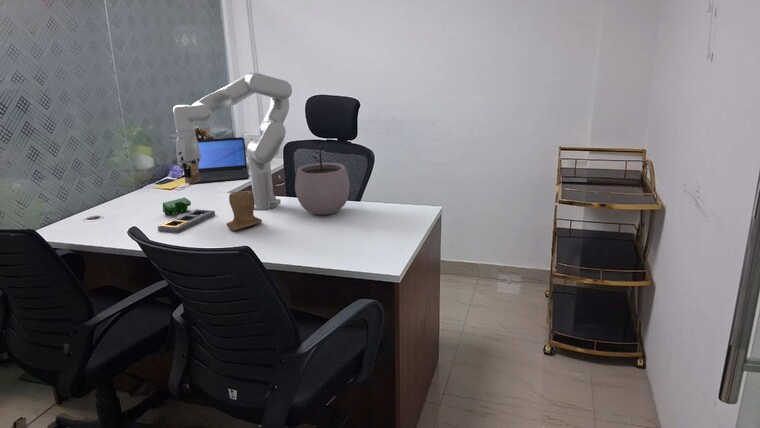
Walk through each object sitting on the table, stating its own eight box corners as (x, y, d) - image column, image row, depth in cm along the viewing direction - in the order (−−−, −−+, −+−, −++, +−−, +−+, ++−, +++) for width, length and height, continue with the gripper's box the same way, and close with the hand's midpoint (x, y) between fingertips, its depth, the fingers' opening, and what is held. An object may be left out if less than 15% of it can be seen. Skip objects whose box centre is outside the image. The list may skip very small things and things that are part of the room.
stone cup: (249, 219, 237) (246, 186, 233) (266, 224, 229) (262, 190, 225) (219, 228, 227) (215, 193, 222) (235, 233, 219) (231, 198, 214)
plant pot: (313, 203, 256) (308, 141, 247) (359, 207, 248) (356, 142, 239) (287, 219, 235) (281, 151, 226) (337, 223, 227) (332, 153, 218)
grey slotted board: (215, 214, 245) (214, 210, 244) (177, 232, 223) (176, 227, 222) (197, 213, 248) (196, 208, 248) (158, 230, 226) (157, 225, 225)
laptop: (188, 185, 302) (183, 151, 296) (193, 171, 337) (188, 140, 331) (248, 180, 310) (245, 146, 304) (247, 166, 344) (244, 136, 338)
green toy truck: (174, 224, 248) (166, 210, 242) (167, 219, 252) (159, 205, 245) (195, 209, 254) (188, 195, 248) (188, 204, 257) (181, 190, 251)
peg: (200, 181, 238) (197, 163, 236) (193, 183, 234) (191, 165, 232) (192, 180, 239) (189, 162, 237) (185, 183, 236) (182, 165, 233)
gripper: (192, 131, 239) (197, 171, 245) (165, 137, 224) (171, 180, 230) (206, 131, 237) (211, 172, 242) (179, 137, 222) (185, 181, 227)
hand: (191, 175), depth 236 cm, fingers closed on peg, 4 cm apart
